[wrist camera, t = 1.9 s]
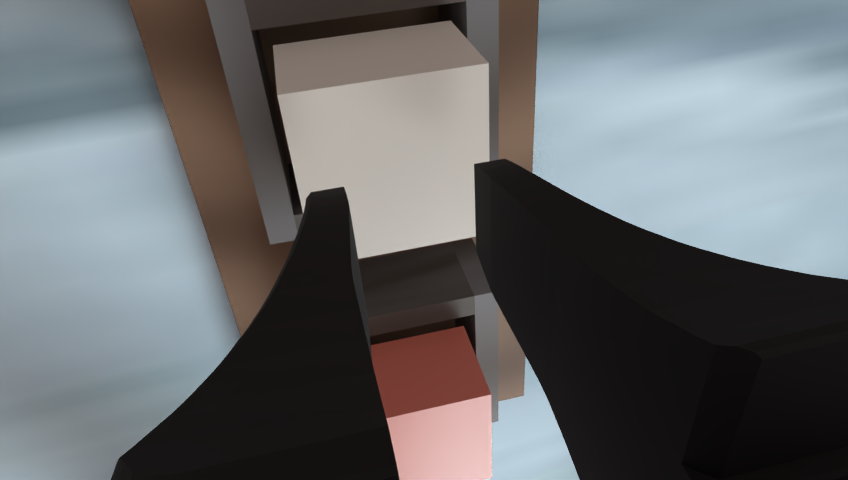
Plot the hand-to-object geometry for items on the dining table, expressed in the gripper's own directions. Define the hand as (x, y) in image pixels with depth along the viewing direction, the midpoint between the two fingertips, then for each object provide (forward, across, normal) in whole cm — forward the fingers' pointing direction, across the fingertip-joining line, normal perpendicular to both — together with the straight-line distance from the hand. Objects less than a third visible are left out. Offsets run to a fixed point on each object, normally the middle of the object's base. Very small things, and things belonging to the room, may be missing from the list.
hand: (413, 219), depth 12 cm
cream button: (+5, 0, 0) cm, 5 cm away
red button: (+5, 0, +10) cm, 11 cm away
